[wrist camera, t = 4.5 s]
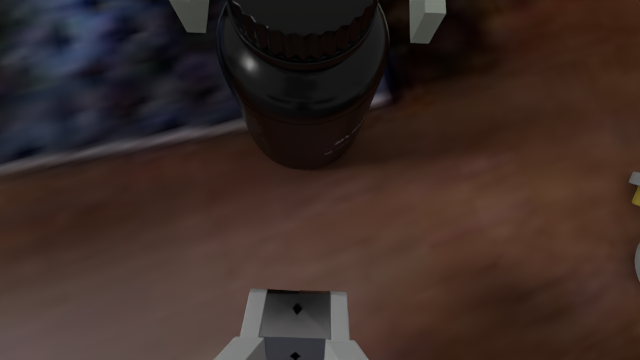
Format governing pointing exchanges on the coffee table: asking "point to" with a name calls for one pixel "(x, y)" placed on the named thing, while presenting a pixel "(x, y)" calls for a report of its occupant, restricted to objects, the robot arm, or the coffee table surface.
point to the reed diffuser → (636, 179)
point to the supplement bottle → (303, 72)
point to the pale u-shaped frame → (424, 17)
